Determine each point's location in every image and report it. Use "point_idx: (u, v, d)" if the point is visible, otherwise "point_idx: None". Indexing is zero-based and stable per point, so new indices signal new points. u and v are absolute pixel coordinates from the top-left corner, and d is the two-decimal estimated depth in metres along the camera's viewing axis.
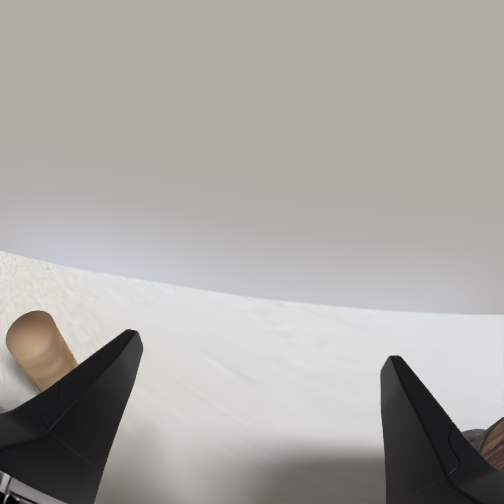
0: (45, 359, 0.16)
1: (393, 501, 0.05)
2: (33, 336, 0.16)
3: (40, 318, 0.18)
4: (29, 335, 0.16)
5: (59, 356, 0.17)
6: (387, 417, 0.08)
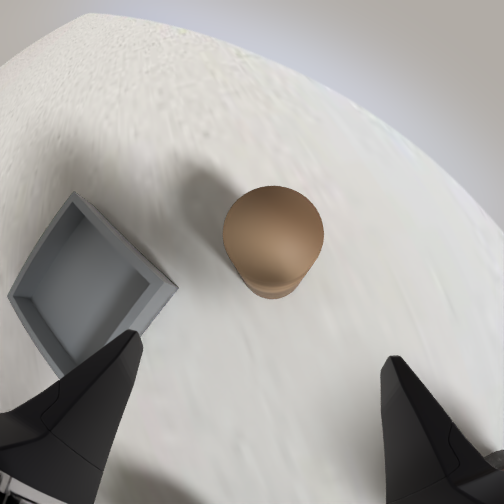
0: (293, 280, 0.15)
1: (394, 501, 0.05)
2: (284, 246, 0.14)
3: (295, 207, 0.14)
4: (275, 240, 0.14)
5: None
6: (387, 417, 0.08)
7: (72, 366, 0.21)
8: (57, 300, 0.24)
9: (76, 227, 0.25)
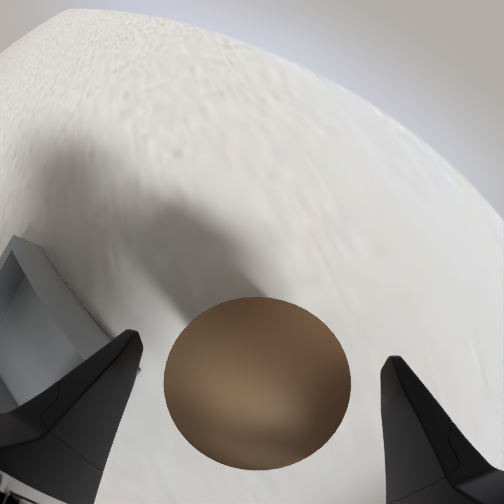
0: None
1: (394, 501, 0.05)
2: (275, 417, 0.07)
3: (300, 345, 0.07)
4: (259, 407, 0.07)
5: None
6: (387, 417, 0.08)
7: None
8: (11, 362, 0.16)
9: (24, 276, 0.18)
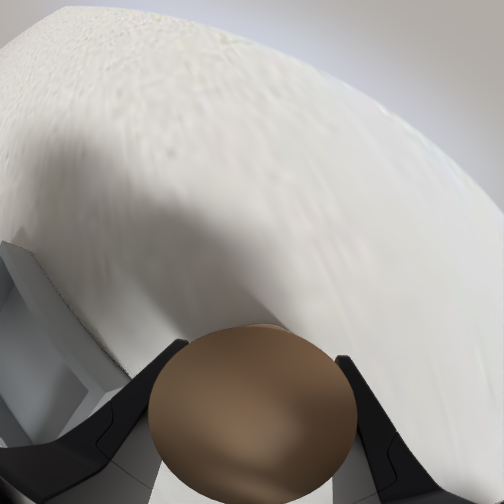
0: None
1: None
2: (271, 457, 0.05)
3: (301, 381, 0.06)
4: (255, 446, 0.06)
5: None
6: None
7: None
8: (4, 370, 0.15)
9: (14, 283, 0.17)
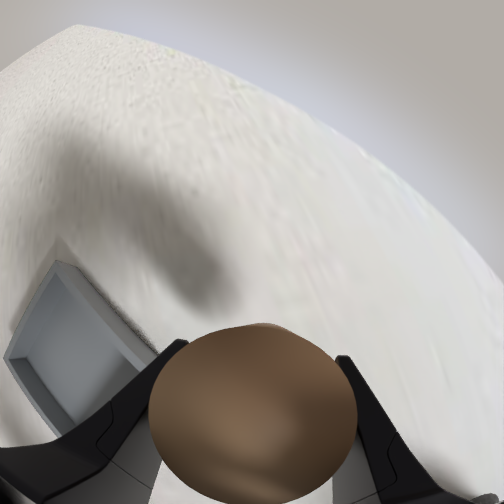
0: None
1: None
2: (271, 457, 0.05)
3: (301, 380, 0.06)
4: (255, 446, 0.06)
5: None
6: None
7: None
8: (51, 364, 0.22)
9: (63, 293, 0.24)
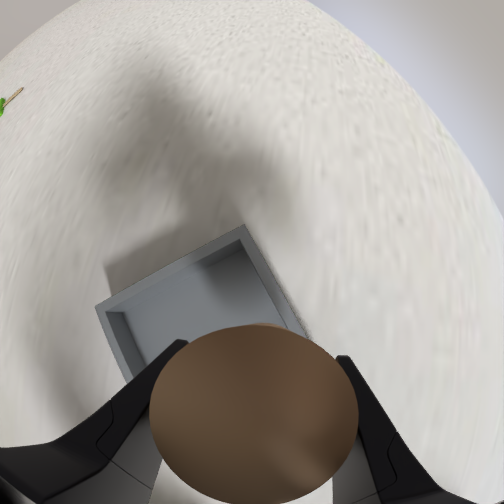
0: None
1: None
2: (272, 456, 0.05)
3: (303, 379, 0.06)
4: (256, 445, 0.06)
5: None
6: None
7: None
8: (166, 335, 0.22)
9: (221, 260, 0.23)
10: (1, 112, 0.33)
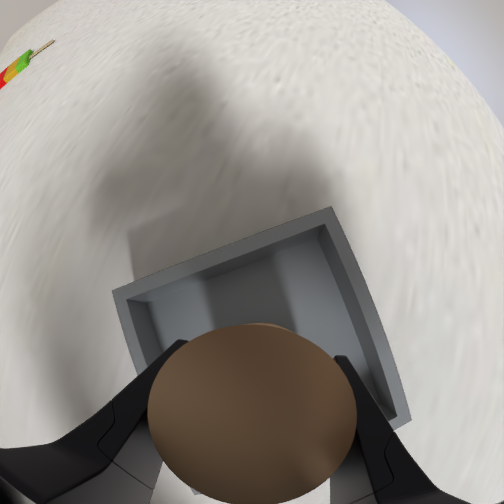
0: None
1: None
2: (270, 455, 0.05)
3: (300, 379, 0.06)
4: (254, 445, 0.06)
5: None
6: None
7: None
8: None
9: (288, 249, 0.18)
10: (27, 63, 0.29)
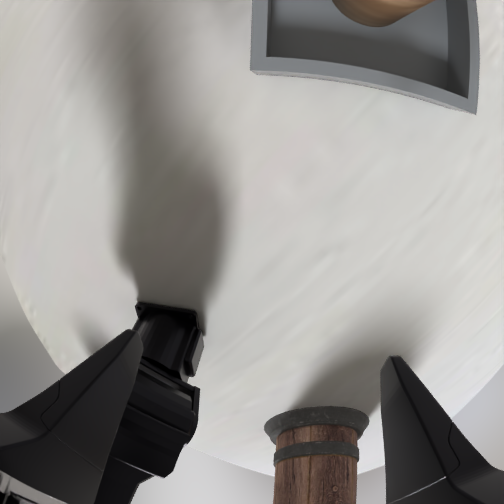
0: None
1: (393, 501, 0.05)
2: None
3: None
4: None
5: None
6: (387, 417, 0.08)
7: (269, 26, 0.13)
8: None
9: None
10: None
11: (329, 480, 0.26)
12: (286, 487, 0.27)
